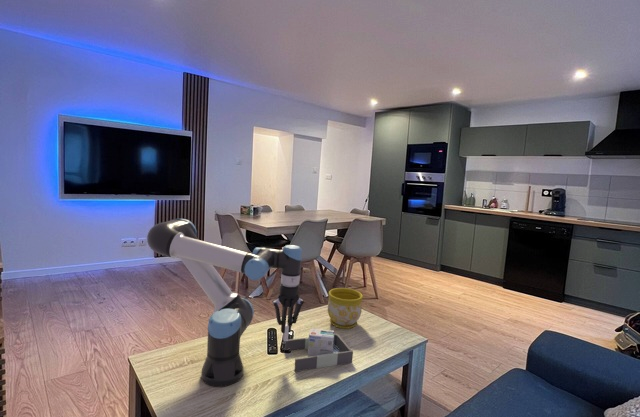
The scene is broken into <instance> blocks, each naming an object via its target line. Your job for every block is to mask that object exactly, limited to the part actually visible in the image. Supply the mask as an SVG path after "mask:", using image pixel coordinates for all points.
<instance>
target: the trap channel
mask: <svg viewBox="0 0 640 417" xmlns="http://www.w3.org/2000/svg"><path fill="white" fill-rule="evenodd" d="M308 342H309V336H307V337H299V338H290V339H288V341H285V342H284V351H285V350H286V349H288V348H290V349H291V351H290V352H294V351H300V350H308ZM334 346H336V348H337V349H338V348H339V349H338V350H339V351H340V352H333V353H331V354H324V355H317V356H310V357H308V356H304V357H303V356H302V357H297V358H294V360H295V361H294V372H301V371H308V370H315V369H321V368H327V367H332V366H338V365H339V366H340V365H345V364H353V356H354V351H353V349H351V347H350V346H349V345H348V344H347V342H346V341H345V340H344V339H343V338H342V336H341V335H339V333H334Z"/></svg>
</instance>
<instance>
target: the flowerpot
mask: <svg viewBox="0 0 640 417" xmlns="http://www.w3.org/2000/svg"><path fill="white" fill-rule="evenodd" d="M363 297H364V295H363V294H362V293H361V291H358V290H357V289H353V288H348V287H336V288H335V287H334V288H332V289H330V290H329V291H328V302H327V313H328V317H329V321H330V323H331V324H332V325H333V326H334V327H336V328H338V329H343V330H349V329H353V328H354V327H355V326H356V325H357V324H358V321H359V319H360V317H361V315H362V308H363V306H362V302H363Z"/></svg>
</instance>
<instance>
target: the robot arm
mask: <svg viewBox="0 0 640 417" xmlns="http://www.w3.org/2000/svg"><path fill="white" fill-rule="evenodd" d="M197 232H198V231H197V228H196V226H195V225H194V223H193V222H191V220H189V219H185V218H173V219H171V220H168V221H163V222H159V223H157V224H155V225H153V226H152V227H151V228H150V229H149V230H148V233H147V235H146V239H147V245H148V246H149V248H150V249H151V250H152V251H153V252H155V253H157V254H158V255H162V256H164V257H168V258H173V259H175V258H176V259H180V260H181V262H182V263H183V264H184V266H185V267H186V269H187V270H188V271H189V272H190V274H191V276H193V278H194V280H195V281H196V282H197V284H198V285H199V287H200V288H201V289H202V290H203V291H204V293H205V295H206V296H207V298H208V299H209V300H210V301H211V303H212V304H213V305H214V309H213V313H211V315H210V316H209V318H208V323H207V348H206V349H207V350H206V351H207V352H206V357H205V361H204V363H203V366H202V367H201V372H200V373H201V375H200V376H201V380H202V382H203V383H204V384H206V385H208V386H211V387H215V388H217V387H220V388H222V387H229V386H230V385H233V384H236V383H237V382H239V381H240V380H241V379H242V377H243V375H244V374H243V373H244V365H243V364H244V363H243V361H242V358H241V354H240V348H241V347H240V343H241V337H242V335H243V334H244V333H245V331H246V330H247V328H249V326H250V325H251V323H252V320H253V318H254V313H255V310H254V307H253V306H254V305H252V303H251V302H250V300H248V299H247V298H243V297H241V295H240V294H239V293H238V292H233V291H232V290H231V288H230V287H229V285H228V284H227V283H226V281H225V280H224V279H223V278H222V276H221V275H220V273H219V272H218V271H217V269H216V267H218V268H222V269H226V270H229V271H234V272H238V273H242V274H245V276H246V277H247V278H248V279H250V280H252V281H259V280H260V279H262V278H264V277H265V276H266V275H267V274H268V272H269V271H270V270H271V269H278V270H279V269H281V273H280V274H281V277H280V285H279V295H278V297H277V299H276V300H272V305H273V306H274V312H275V316H276V322H277V323H278V325H279V326H281V327H280V332H281V333H282V340H283V342H284V343H285V341H288V340H289V333H291V332H292V326H293V324H297V321H298V317H299V314H300V312H301V309H302V306H304V303H305V301H304V300H303V299H302V298H300V296H299V293H300V292H299V291H300V285H299V284H300V279H301V271H302V270H301V269H302V260H303V257H302V255H303V252H302V250H303V249H302V248H301V247H300V246H299V245H294V244H286V245H285V246H283V249H275V248H270V247H269V248H268V247H263V246H262V247H255V248H254V249H253V250H252V253H250V252H247V251H243V250H239V249H234V248H231V247H228V246H224V245H220V244H216V243H211V242H209V241H208V242H207V241H204V240H200V239H199V238H198V237H197ZM280 304H281V307H282V310H281V312H280V307H279V306H280ZM295 305H296V306H295ZM294 307H295V308H294Z"/></svg>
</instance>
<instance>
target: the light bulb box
mask: <svg viewBox="0 0 640 417" xmlns="http://www.w3.org/2000/svg"><path fill="white" fill-rule="evenodd" d="M334 334H335V330H331V329H320V328H313V327H311V328H310V329H309V334H308V337H309V342H308V349H307V357H310V356H317V355H324V354H331V353H334V346H335V345H334Z"/></svg>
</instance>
